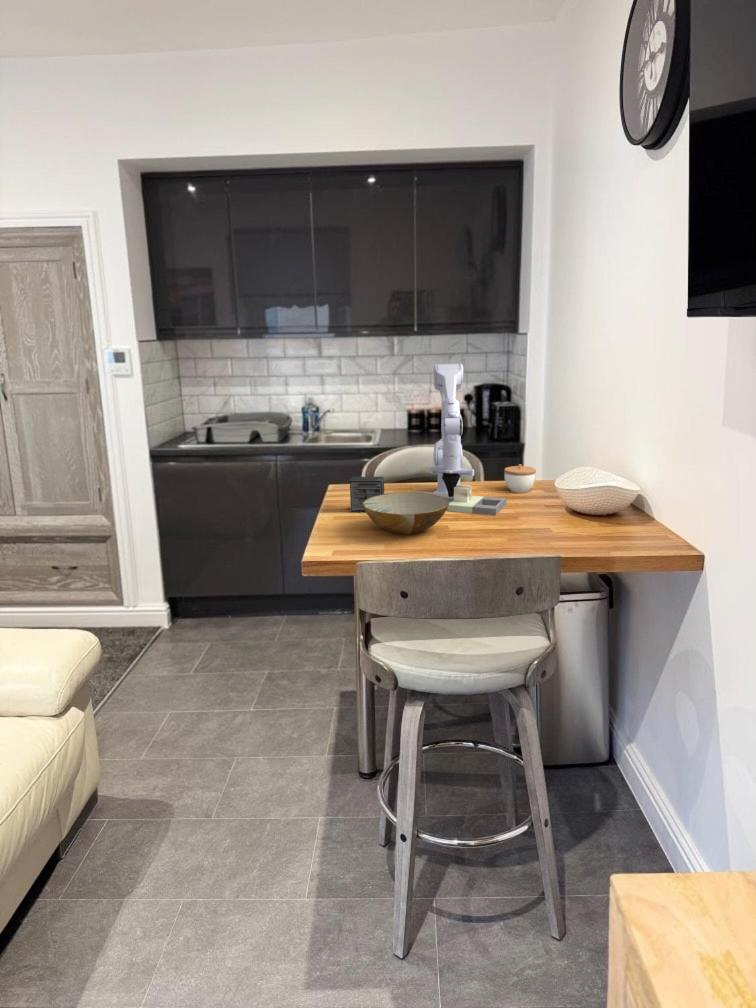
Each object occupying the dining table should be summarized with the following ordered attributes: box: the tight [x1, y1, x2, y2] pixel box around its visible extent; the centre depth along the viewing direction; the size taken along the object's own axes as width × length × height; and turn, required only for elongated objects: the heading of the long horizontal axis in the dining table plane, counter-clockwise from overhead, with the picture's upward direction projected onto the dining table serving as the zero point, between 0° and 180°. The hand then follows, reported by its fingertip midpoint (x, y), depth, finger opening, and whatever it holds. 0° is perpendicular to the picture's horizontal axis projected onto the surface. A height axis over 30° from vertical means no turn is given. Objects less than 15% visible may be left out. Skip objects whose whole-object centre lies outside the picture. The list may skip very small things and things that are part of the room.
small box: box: [349, 476, 385, 513], centre depth 230 cm, size 11×6×10 cm, turn 84°
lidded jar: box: [504, 463, 537, 494], centre depth 252 cm, size 11×11×9 cm
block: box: [454, 484, 472, 502], centre depth 233 cm, size 4×4×4 cm
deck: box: [411, 490, 507, 516], centre depth 235 cm, size 14×32×2 cm, turn 67°
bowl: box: [362, 491, 449, 536], centre depth 209 cm, size 25×25×8 cm
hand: (451, 496), depth 235 cm, fingers closed
